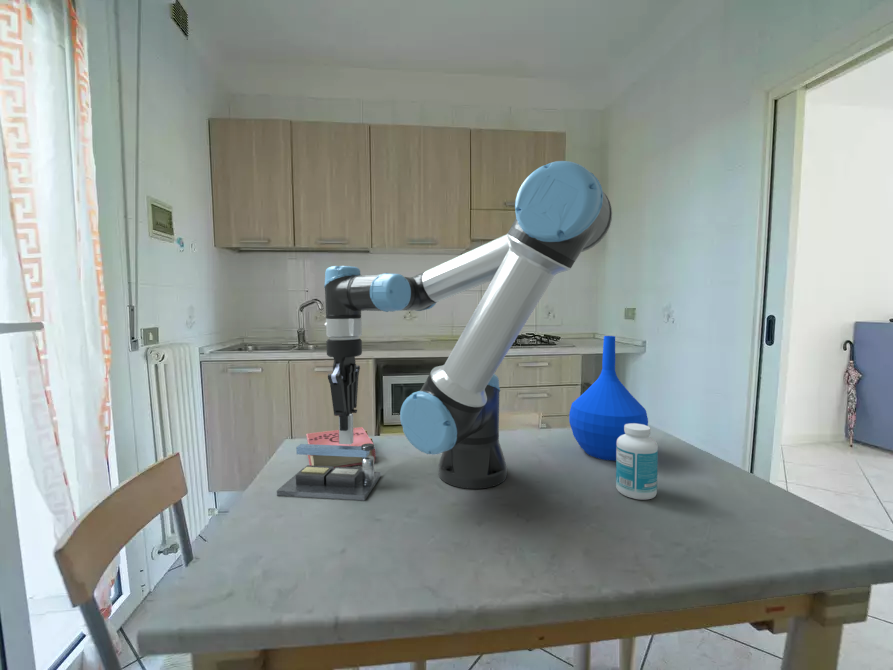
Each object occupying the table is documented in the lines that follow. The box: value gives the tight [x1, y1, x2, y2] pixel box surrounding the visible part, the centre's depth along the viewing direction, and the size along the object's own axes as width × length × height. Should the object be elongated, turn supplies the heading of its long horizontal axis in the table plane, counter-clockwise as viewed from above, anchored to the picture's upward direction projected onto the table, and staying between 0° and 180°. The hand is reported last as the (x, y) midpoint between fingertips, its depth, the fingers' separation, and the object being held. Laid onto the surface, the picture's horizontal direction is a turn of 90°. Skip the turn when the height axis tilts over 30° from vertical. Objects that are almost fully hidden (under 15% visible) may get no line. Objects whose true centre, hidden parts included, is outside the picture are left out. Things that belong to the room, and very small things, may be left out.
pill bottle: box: [615, 423, 659, 501], centre depth 79 cm, size 8×7×14 cm
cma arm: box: [296, 443, 375, 457], centre depth 82 cm, size 16×3×2 cm, turn 83°
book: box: [306, 426, 377, 468], centre depth 99 cm, size 14×15×5 cm
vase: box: [568, 335, 649, 462], centre depth 99 cm, size 18×18×30 cm
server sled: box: [276, 456, 382, 501], centre depth 83 cm, size 18×11×6 cm, turn 83°
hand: (346, 443), depth 88 cm, fingers closed
